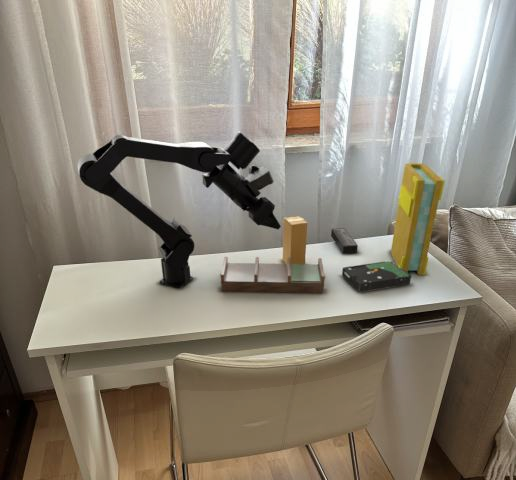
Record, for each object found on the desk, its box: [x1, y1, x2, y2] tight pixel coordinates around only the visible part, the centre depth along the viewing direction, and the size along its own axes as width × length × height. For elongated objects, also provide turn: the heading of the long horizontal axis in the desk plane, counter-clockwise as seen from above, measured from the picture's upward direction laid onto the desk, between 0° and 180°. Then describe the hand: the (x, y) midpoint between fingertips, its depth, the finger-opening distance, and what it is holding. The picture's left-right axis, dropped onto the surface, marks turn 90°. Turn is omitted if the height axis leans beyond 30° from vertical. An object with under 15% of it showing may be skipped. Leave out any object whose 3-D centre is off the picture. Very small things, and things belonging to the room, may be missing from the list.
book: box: [390, 162, 446, 276], centre depth 134 cm, size 17×7×25 cm, turn 179°
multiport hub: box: [330, 227, 359, 254], centre depth 151 cm, size 4×14×2 cm, turn 7°
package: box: [282, 215, 308, 264], centre depth 137 cm, size 4×6×13 cm
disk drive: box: [341, 261, 412, 293], centre depth 130 cm, size 10×3×15 cm
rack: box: [220, 256, 326, 294], centre depth 128 cm, size 26×11×5 cm, turn 88°
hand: (272, 221), depth 131 cm, fingers open, 9 cm apart
